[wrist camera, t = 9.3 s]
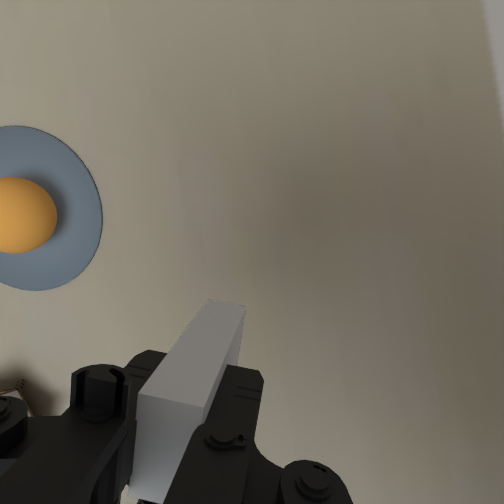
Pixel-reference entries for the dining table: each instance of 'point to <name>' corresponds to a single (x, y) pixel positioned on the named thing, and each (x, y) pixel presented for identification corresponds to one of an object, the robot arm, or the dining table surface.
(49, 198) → the ball
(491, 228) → the dining table surface
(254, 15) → the dining table surface
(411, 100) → the dining table surface
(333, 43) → the dining table surface
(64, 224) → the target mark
